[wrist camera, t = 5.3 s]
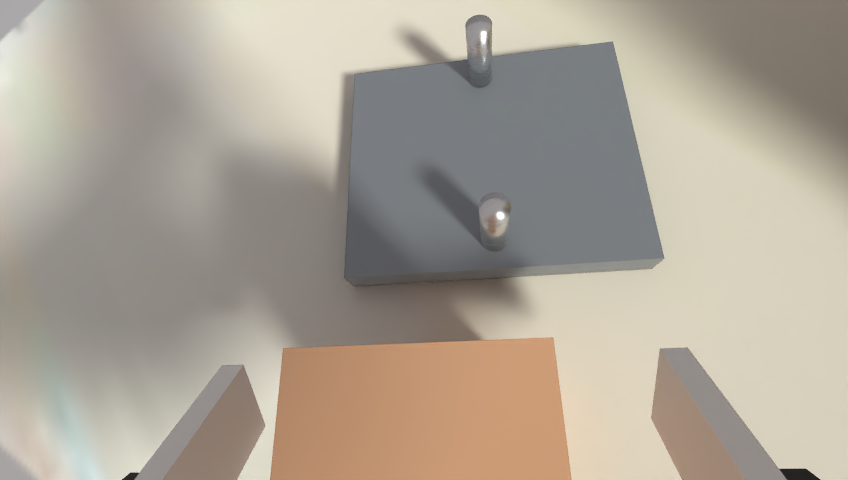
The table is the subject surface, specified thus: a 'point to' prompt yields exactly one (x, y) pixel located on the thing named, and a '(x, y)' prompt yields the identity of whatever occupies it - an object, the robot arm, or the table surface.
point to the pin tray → (496, 168)
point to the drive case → (421, 412)
